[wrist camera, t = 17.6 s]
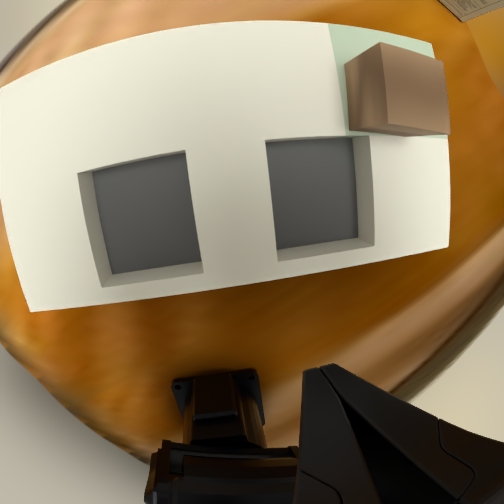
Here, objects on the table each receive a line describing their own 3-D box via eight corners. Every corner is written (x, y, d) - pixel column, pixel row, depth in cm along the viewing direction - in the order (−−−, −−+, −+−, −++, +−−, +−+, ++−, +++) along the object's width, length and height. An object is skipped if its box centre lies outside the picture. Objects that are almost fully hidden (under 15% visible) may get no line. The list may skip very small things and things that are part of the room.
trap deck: (427, 238, 20) (448, 246, 18) (46, 296, 17) (30, 311, 15) (411, 51, 16) (431, 43, 14) (14, 96, 13) (-6, 91, 11)
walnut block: (406, 136, 15) (450, 134, 12) (349, 130, 15) (388, 123, 11) (401, 75, 14) (442, 61, 10) (344, 64, 14) (379, 41, 10)
